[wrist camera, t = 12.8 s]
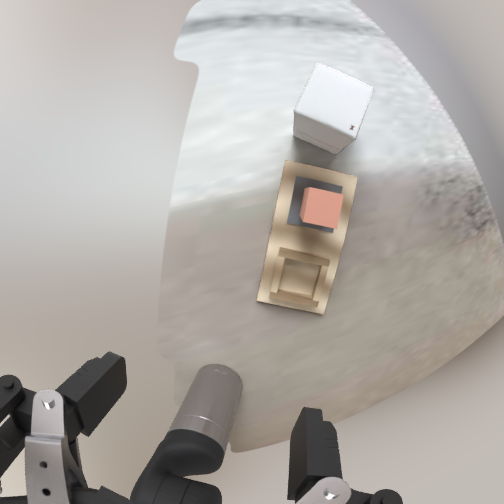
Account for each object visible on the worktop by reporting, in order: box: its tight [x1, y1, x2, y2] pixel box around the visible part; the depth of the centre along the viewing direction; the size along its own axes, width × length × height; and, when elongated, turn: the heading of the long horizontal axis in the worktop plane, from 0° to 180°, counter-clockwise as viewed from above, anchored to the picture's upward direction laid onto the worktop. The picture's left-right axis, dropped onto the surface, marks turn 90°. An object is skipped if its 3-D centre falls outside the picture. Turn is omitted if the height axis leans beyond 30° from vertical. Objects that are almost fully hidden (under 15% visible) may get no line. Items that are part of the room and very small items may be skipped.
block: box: [299, 187, 344, 229], centre depth 34 cm, size 4×4×9 cm
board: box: [257, 160, 357, 314], centre depth 39 cm, size 22×11×3 cm, turn 169°
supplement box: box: [293, 63, 374, 155], centre depth 31 cm, size 7×7×13 cm
